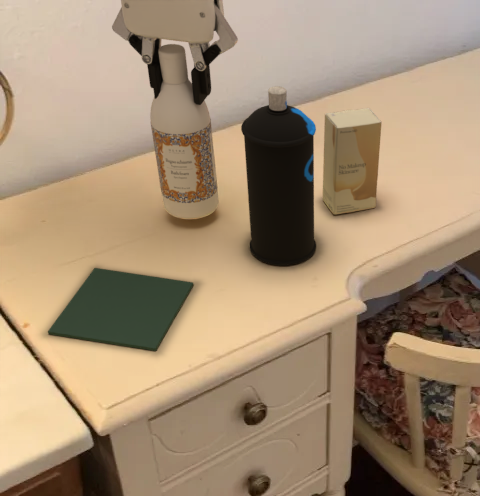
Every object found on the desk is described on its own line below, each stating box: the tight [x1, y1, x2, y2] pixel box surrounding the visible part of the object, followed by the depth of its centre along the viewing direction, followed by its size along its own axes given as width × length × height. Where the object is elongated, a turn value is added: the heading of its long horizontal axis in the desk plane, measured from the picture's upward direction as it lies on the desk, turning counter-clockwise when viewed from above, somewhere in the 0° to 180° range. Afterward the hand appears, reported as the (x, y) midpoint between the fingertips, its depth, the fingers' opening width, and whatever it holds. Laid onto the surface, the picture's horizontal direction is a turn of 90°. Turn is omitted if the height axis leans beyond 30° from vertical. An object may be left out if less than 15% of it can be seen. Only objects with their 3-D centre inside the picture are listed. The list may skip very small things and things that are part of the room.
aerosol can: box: [240, 85, 317, 267], centre depth 96 cm, size 8×8×20 cm
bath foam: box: [149, 43, 220, 220], centre depth 100 cm, size 7×7×20 cm
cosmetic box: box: [322, 107, 382, 215], centre depth 107 cm, size 6×4×12 cm
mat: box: [47, 267, 195, 352], centre depth 93 cm, size 12×12×1 cm
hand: (181, 95), depth 96 cm, fingers closed on bath foam, 4 cm apart
